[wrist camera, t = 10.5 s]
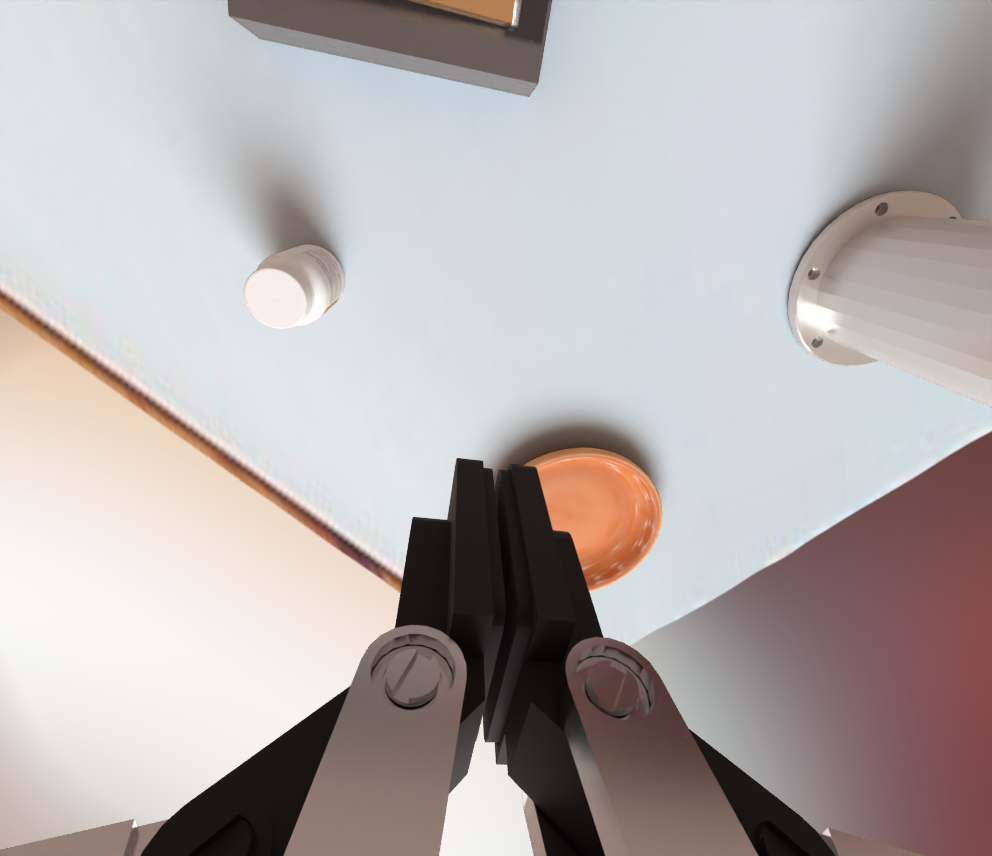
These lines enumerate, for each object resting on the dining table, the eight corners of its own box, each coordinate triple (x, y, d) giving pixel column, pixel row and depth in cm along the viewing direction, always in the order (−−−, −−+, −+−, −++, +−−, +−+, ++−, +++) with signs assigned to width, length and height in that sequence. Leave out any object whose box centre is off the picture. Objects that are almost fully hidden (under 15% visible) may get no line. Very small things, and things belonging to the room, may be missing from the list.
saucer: (676, 449, 42) (690, 467, 39) (621, 581, 49) (630, 603, 46) (501, 423, 40) (504, 440, 37) (470, 565, 47) (470, 588, 44)
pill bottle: (289, 308, 34) (244, 338, 27) (276, 244, 32) (224, 258, 25) (350, 307, 34) (321, 336, 27) (341, 243, 32) (308, 258, 25)
